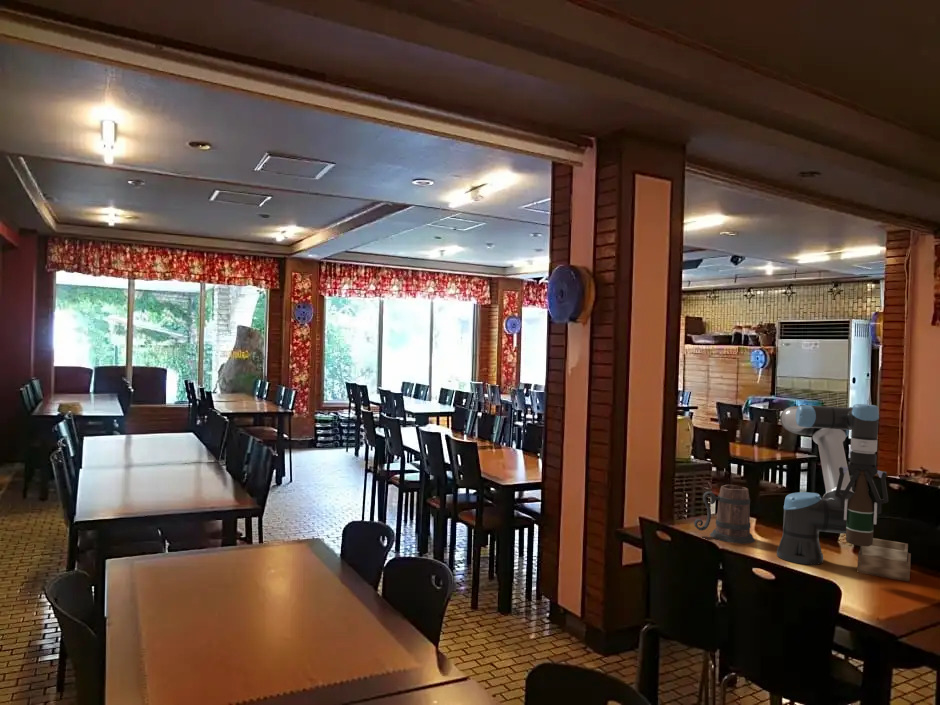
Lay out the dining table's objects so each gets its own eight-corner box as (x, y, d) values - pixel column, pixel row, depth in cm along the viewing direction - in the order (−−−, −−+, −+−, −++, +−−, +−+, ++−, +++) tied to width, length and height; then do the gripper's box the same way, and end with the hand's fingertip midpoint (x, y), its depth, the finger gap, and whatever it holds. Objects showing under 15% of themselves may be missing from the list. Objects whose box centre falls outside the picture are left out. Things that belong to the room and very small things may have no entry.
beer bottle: (871, 542, 230) (875, 469, 230) (873, 548, 223) (877, 473, 222) (844, 538, 233) (848, 467, 233) (846, 544, 226) (850, 470, 226)
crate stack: (857, 572, 237) (858, 544, 237) (860, 561, 249) (861, 535, 249) (909, 581, 229) (910, 553, 228) (910, 570, 241) (911, 543, 241)
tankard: (745, 532, 284) (747, 484, 284) (762, 544, 267) (764, 492, 267) (688, 530, 285) (690, 481, 285) (700, 541, 268) (703, 489, 268)
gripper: (827, 449, 230) (823, 518, 230) (900, 457, 219) (896, 529, 219) (829, 446, 236) (826, 513, 237) (900, 454, 225) (897, 524, 226)
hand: (860, 521), depth 228 cm, fingers closed on beer bottle, 8 cm apart
